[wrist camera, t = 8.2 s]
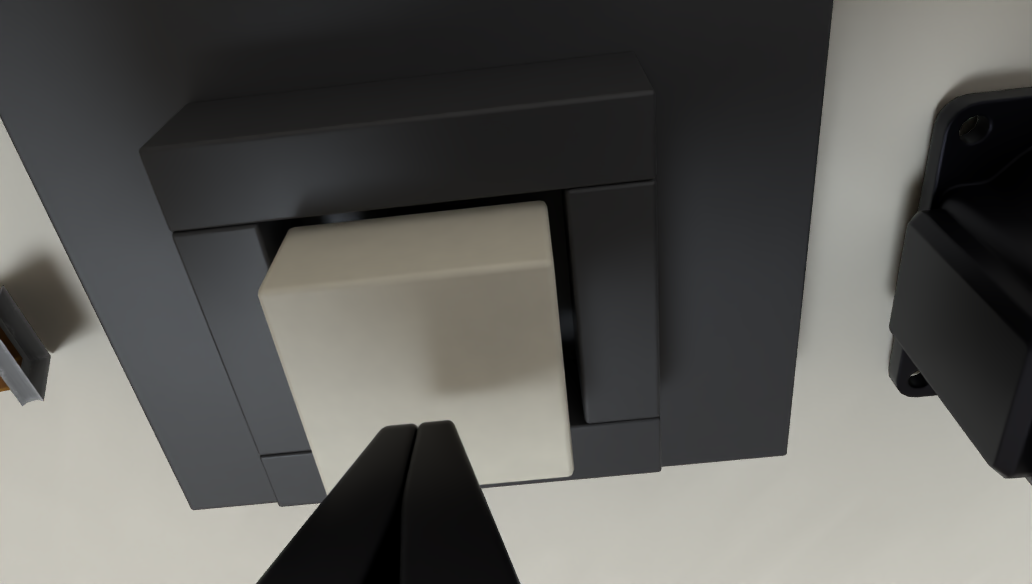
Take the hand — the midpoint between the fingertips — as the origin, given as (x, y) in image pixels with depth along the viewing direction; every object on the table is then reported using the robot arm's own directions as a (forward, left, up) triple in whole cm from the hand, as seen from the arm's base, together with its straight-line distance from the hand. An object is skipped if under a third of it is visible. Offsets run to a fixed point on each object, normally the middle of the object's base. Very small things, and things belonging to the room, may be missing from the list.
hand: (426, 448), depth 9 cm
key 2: (0, 0, -3) cm, 3 cm away
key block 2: (0, 0, -6) cm, 6 cm away
